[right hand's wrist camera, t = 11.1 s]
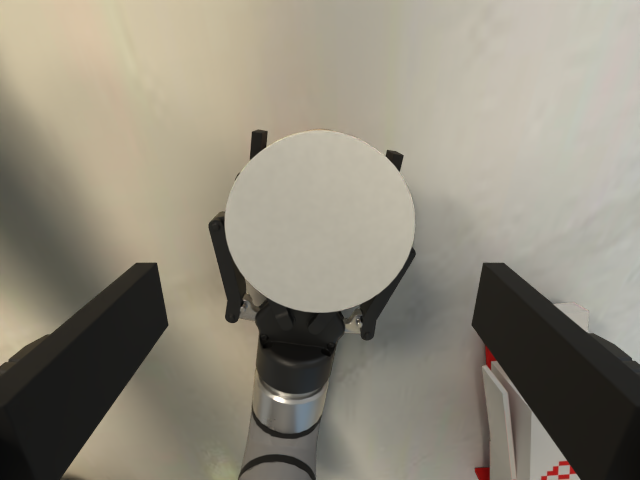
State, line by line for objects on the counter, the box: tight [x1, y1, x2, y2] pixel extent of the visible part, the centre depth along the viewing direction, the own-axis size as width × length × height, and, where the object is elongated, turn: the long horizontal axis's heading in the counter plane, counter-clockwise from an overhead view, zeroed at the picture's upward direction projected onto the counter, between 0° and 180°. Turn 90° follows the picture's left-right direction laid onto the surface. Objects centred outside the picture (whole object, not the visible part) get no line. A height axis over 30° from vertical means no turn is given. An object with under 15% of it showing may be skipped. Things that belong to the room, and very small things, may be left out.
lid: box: [225, 130, 415, 313], centre depth 21 cm, size 11×11×2 cm
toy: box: [475, 302, 589, 480], centre depth 39 cm, size 12×13×30 cm
